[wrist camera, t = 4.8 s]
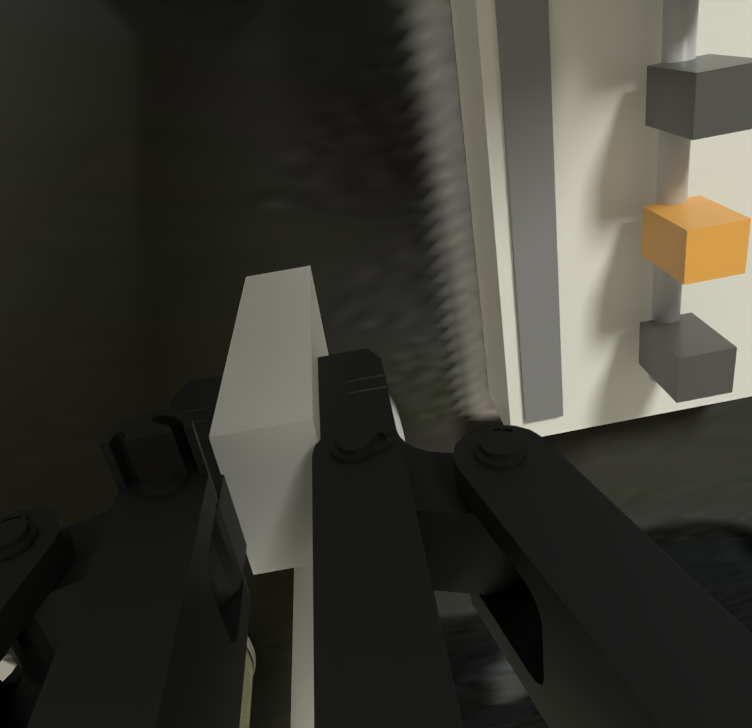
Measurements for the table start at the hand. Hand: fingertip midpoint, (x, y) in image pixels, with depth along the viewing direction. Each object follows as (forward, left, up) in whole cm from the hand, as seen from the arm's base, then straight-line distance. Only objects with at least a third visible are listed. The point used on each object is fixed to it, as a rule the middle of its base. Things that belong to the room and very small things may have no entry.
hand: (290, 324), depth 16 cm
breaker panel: (-6, +11, -12) cm, 18 cm away
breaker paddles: (-6, +11, -7) cm, 15 cm away
